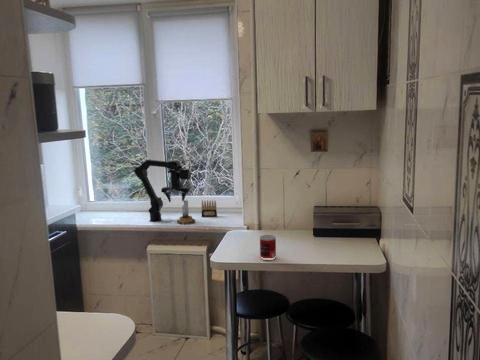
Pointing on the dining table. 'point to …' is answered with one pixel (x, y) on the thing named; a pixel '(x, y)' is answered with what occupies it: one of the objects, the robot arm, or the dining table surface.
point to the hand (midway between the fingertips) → (176, 202)
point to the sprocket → (185, 220)
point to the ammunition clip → (209, 209)
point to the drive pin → (185, 209)
